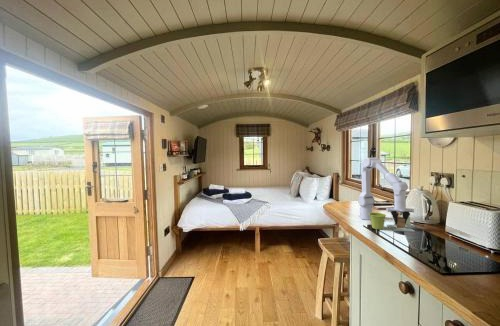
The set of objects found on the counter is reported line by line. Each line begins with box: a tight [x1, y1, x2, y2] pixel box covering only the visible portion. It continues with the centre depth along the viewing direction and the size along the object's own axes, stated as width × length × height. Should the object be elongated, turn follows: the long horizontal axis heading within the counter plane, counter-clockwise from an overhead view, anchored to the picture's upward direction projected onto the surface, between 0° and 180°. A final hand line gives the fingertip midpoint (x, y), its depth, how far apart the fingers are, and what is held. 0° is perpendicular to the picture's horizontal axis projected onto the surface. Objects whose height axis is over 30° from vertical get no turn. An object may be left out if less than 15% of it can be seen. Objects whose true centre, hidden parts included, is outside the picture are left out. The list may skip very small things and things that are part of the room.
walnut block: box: [394, 216, 406, 227], centre depth 136 cm, size 4×4×5 cm
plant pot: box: [369, 212, 387, 231], centre depth 138 cm, size 9×9×9 cm
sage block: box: [399, 214, 411, 225], centre depth 146 cm, size 4×4×5 cm
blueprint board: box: [386, 224, 416, 233], centre depth 136 cm, size 11×11×1 cm
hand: (400, 223), depth 136 cm, fingers closed on walnut block, 4 cm apart
